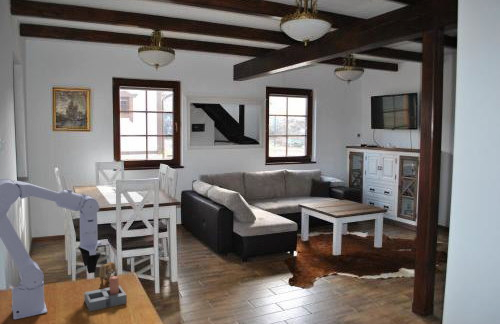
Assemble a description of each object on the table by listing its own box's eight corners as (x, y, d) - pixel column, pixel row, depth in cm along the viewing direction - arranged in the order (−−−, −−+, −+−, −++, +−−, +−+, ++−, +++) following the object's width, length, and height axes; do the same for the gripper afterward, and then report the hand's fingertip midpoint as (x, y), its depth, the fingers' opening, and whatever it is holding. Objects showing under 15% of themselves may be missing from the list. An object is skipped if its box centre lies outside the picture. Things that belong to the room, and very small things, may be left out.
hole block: (89, 311, 136) (89, 302, 135) (84, 300, 143) (84, 292, 143) (126, 303, 142) (126, 294, 141) (119, 293, 149) (119, 285, 149)
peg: (111, 302, 142) (110, 280, 141) (108, 299, 145) (108, 277, 144) (120, 300, 144) (119, 278, 143) (117, 297, 146) (117, 275, 145)
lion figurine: (112, 289, 153) (111, 265, 152) (97, 290, 152) (96, 266, 151) (118, 273, 167) (117, 252, 166) (104, 274, 166) (104, 252, 165)
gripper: (105, 235, 139) (105, 274, 141) (96, 224, 152) (97, 260, 153) (82, 237, 136) (83, 277, 137) (76, 227, 148) (77, 263, 150)
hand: (89, 269), depth 145 cm, fingers open, 7 cm apart
